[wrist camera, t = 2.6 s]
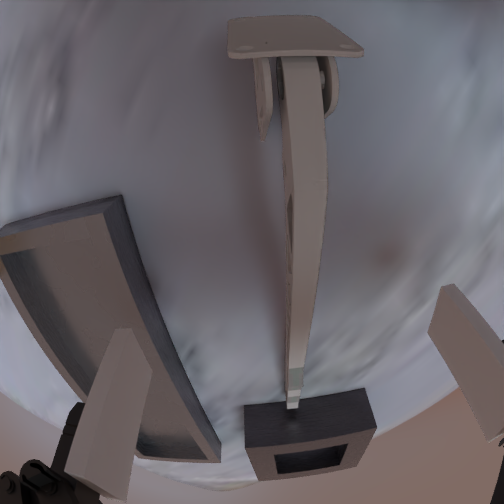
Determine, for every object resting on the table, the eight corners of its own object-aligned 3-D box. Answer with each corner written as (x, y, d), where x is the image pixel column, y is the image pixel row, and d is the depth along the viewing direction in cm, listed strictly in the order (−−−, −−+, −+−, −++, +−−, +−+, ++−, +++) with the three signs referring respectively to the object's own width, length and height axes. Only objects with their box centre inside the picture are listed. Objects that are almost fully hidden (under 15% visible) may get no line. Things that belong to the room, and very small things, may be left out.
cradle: (5, 224, 14) (-16, 242, 12) (121, 194, 13) (102, 212, 11) (142, 441, 26) (138, 458, 24) (221, 444, 26) (220, 462, 24)
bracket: (316, 15, 8) (514, 226, 2) (297, 290, 26) (313, 406, 20) (227, 18, 8) (228, 255, 2) (260, 294, 26) (271, 410, 20)
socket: (244, 405, 22) (244, 448, 18) (364, 388, 22) (377, 427, 18) (257, 449, 27) (258, 481, 23) (349, 436, 26) (356, 466, 23)
